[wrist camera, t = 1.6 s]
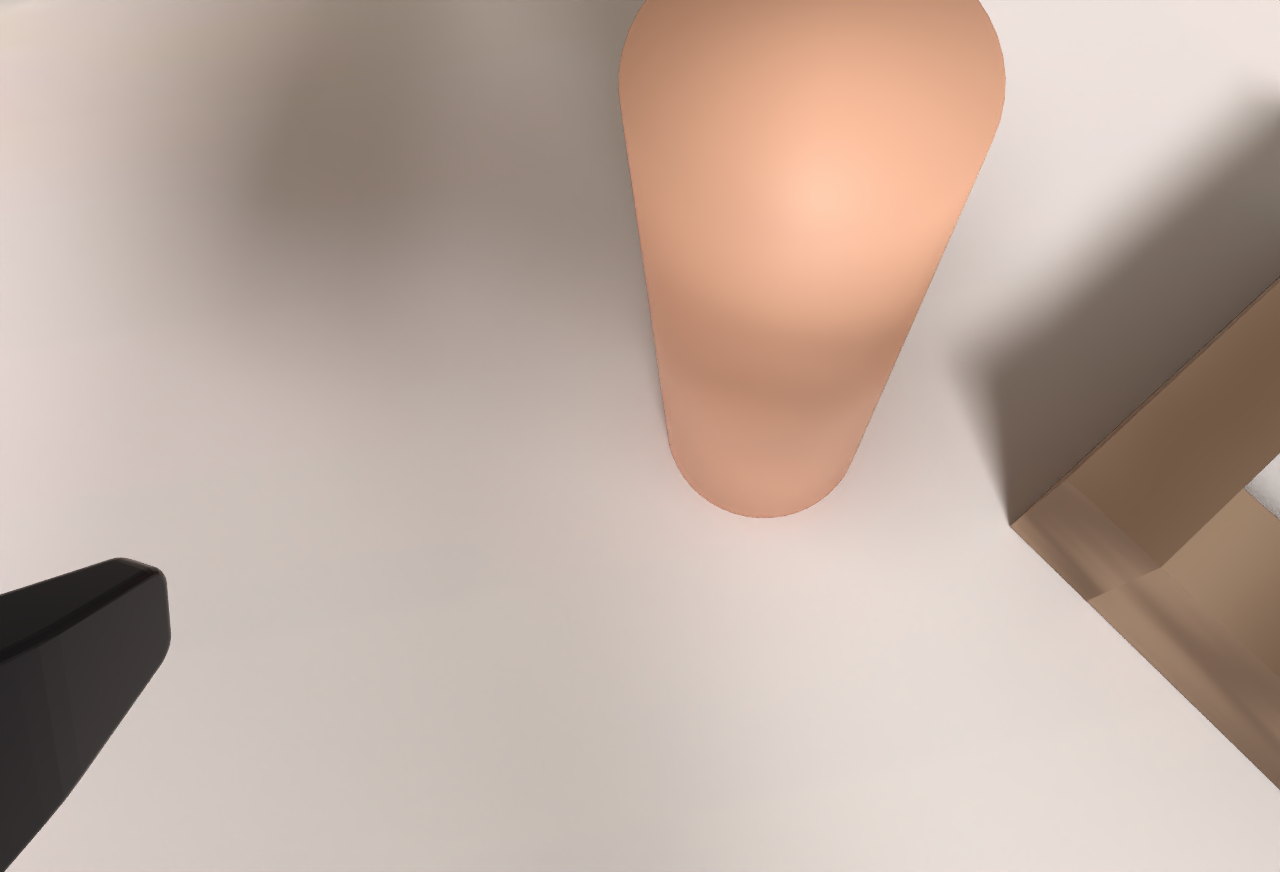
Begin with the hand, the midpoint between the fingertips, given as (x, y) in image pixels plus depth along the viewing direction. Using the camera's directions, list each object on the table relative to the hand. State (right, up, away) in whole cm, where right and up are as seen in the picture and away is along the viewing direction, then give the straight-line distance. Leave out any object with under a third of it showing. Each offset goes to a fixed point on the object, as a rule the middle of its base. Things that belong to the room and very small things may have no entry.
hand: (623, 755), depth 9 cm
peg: (+3, +3, +16) cm, 16 cm away
